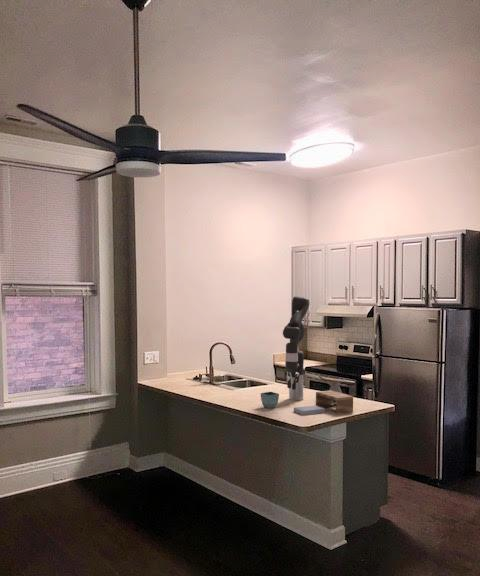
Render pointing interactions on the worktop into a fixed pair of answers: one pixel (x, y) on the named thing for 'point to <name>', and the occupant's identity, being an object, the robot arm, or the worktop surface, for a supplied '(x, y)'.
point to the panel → (309, 410)
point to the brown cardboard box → (342, 401)
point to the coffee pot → (333, 386)
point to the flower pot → (269, 399)
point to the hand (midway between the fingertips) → (291, 388)
